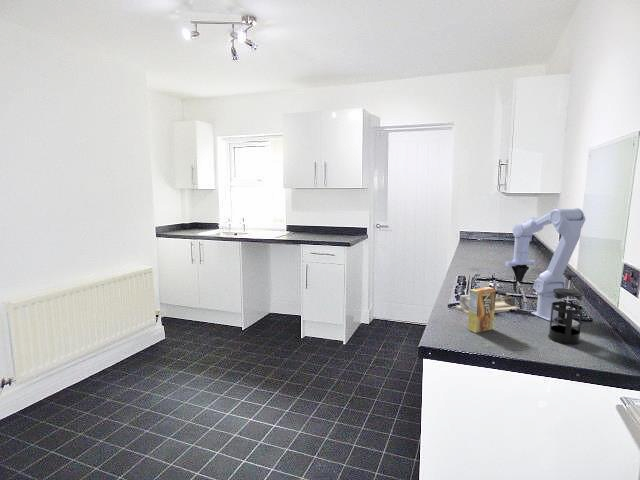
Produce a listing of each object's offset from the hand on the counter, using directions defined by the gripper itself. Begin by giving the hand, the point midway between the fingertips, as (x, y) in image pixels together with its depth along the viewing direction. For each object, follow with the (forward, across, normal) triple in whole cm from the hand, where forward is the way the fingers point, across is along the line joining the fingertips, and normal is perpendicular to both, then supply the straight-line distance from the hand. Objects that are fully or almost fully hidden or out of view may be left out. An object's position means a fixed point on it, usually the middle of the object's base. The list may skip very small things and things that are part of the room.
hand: (518, 281), depth 177 cm
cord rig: (+9, +19, +4) cm, 22 cm away
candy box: (+10, +37, +23) cm, 45 cm away
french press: (+10, +15, +38) cm, 42 cm away
